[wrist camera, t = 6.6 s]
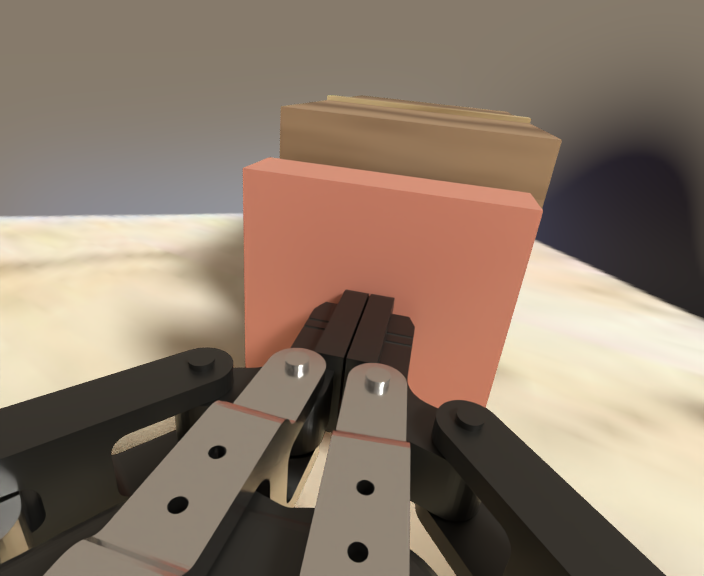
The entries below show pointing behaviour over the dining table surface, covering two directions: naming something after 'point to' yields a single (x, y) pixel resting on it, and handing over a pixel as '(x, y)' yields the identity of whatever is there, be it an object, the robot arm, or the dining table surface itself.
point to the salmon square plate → (387, 263)
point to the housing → (421, 142)
